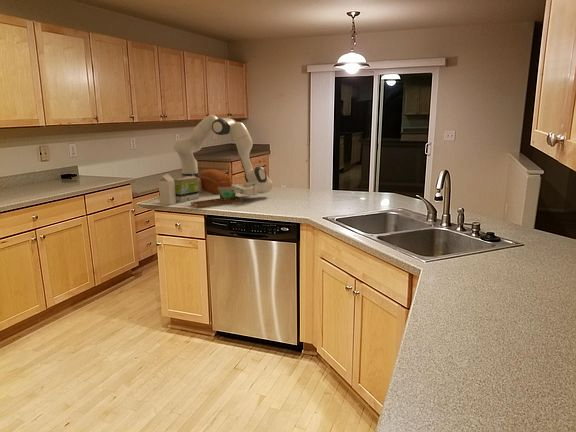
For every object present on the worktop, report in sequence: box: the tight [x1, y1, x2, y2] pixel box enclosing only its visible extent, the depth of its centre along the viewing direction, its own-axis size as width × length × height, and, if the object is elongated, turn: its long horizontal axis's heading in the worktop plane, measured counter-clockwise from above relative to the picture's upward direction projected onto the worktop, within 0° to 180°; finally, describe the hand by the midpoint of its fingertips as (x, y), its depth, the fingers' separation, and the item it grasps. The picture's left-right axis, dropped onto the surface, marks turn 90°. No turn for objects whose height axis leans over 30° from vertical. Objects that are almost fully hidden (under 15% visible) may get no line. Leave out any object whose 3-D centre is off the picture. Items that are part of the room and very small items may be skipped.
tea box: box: [172, 176, 200, 203], centre depth 283 cm, size 15×10×15 cm
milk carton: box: [158, 173, 177, 206], centre depth 270 cm, size 7×7×19 cm
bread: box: [198, 168, 233, 195], centre depth 313 cm, size 14×33×16 cm, turn 40°
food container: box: [218, 186, 237, 202], centre depth 275 cm, size 12×6×10 cm, turn 105°
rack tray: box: [190, 195, 244, 209], centre depth 271 cm, size 11×31×2 cm, turn 123°
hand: (231, 190), depth 275 cm, fingers closed on food container, 5 cm apart
